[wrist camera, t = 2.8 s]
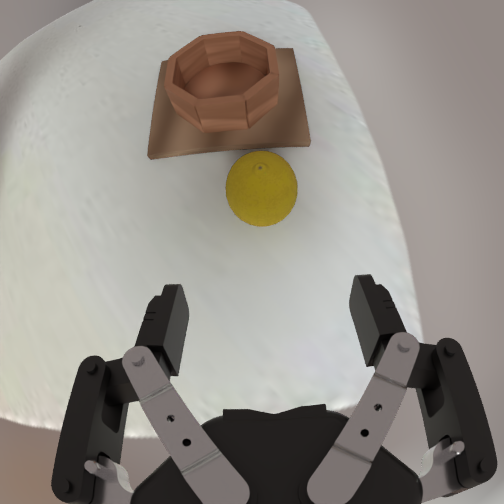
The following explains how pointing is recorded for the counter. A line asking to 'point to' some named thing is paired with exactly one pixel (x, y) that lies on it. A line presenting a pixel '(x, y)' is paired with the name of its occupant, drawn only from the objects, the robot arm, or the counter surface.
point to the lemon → (261, 188)
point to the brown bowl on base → (227, 98)
